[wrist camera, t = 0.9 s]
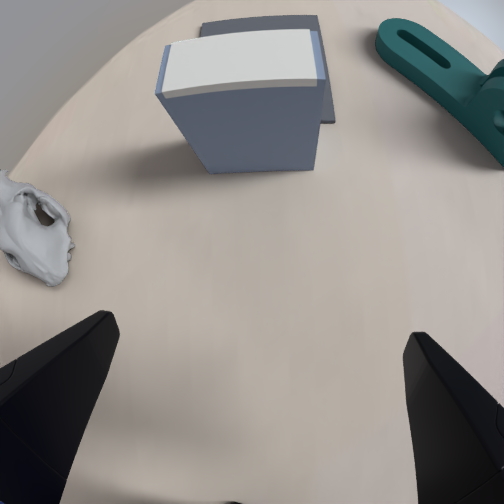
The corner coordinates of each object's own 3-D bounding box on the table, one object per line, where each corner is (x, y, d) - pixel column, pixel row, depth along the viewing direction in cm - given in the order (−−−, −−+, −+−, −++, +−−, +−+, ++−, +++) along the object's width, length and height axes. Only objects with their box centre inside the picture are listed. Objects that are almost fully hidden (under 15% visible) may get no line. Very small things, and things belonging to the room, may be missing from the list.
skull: (40, 316, 22) (-60, 230, 15) (58, 267, 29) (-19, 199, 23) (87, 252, 21) (-22, 152, 15) (100, 214, 29) (18, 138, 22)
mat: (335, 123, 23) (335, 120, 23) (189, 130, 25) (188, 128, 24) (317, 17, 25) (317, 15, 25) (203, 25, 27) (202, 23, 26)
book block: (313, 170, 23) (325, 78, 12) (209, 174, 24) (153, 93, 13) (310, 130, 24) (317, 29, 13) (211, 134, 25) (164, 43, 14)
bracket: (523, 133, 21) (563, 98, 13) (505, 171, 21) (554, 137, 13) (394, 24, 24) (408, -27, 17) (362, 49, 24) (374, -10, 17)
